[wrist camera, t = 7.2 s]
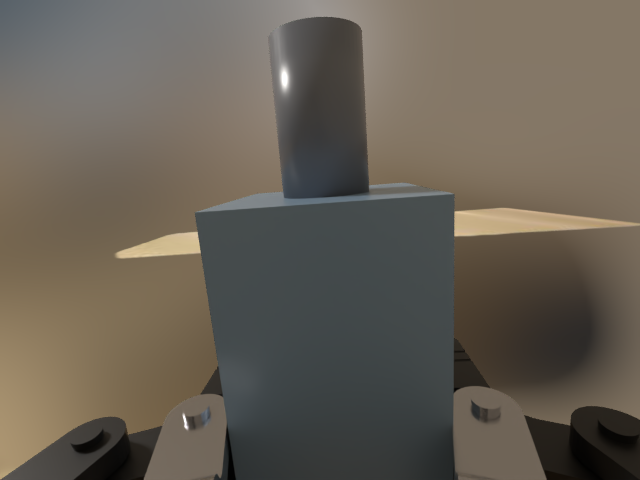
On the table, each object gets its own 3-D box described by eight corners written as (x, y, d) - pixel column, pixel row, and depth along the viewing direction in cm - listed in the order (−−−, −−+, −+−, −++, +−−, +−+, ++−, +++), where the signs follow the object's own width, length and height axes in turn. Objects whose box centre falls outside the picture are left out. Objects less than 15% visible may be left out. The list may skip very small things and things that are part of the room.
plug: (278, 757, 8) (162, -1, 5) (299, 563, 12) (243, 76, 9) (451, 766, 8) (455, -37, 4) (414, 564, 12) (401, 60, 8)
